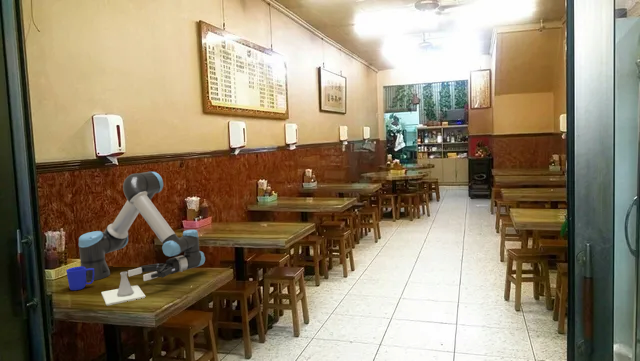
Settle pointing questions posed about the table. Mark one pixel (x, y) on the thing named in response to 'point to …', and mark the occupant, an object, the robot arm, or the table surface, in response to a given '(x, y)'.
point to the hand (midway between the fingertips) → (136, 275)
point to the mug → (78, 277)
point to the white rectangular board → (113, 298)
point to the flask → (124, 285)
